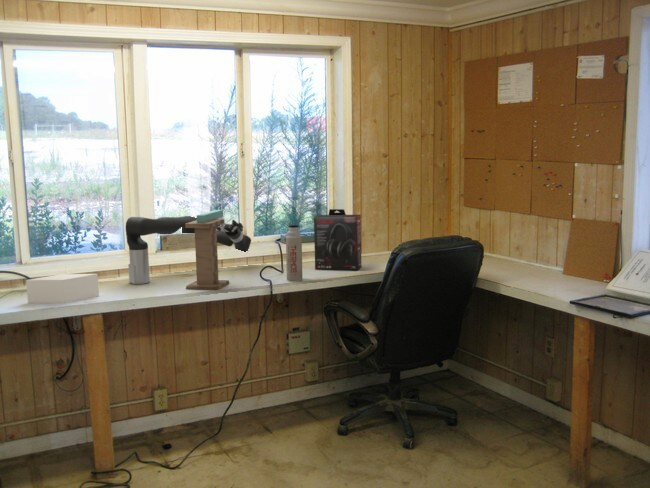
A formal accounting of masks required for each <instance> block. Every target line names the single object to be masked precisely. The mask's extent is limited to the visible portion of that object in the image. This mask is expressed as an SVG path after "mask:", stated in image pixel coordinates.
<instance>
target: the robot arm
mask: <svg viewBox="0 0 650 488" xmlns="http://www.w3.org/2000/svg"><path fill="white" fill-rule="evenodd" d="M191 216H192V215H191ZM191 216H190V215H184V216H183V215H182V216H178V217H177V216H176V217H175V216H171V217H170V216H163V217H161V216H160V217H157V218H148V217H144V216H130V217H128V218H127V220H126V222H125V234H126V243H127V246H128V252H129V256H128V257H129V263H128V265H127V266H128V280H129V283H130V284H133V285H143V284H149V283H150V282H151V281H150V280H151V278H150V276H151V275H150V263H149V262H150V261H149V259H150V257H149V244H148V242H147V241H145V240H143V239H142V237H141V236H149V235H154V234H156V235H161V236H162V235H165V236H166V235H172V234H175V233H176V232H178V231H180V229H181V227H182V233H195V228H185V223H189V222H192V221H196V220H197V217H196V216H193V217H191ZM195 217H196V218H195ZM216 228H217V244H220V245H223V246H227V247H232V246H233V244H234V248H235V249H234V250H236V249H238V250H241V251H244V252H246V251H248V252H249V250H250V246H251V242H252V238H251V237H250V236H249V235H245V234H244V233H243V231H244V225H243V224H242V223H241V222H239V223H238V222H237V221H236V220H235V219H232V221H231V223H230V224H229V223H226V222H225V223H223V224H220V225H217V226H216ZM248 249H249V250H248Z"/></svg>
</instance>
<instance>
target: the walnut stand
mask: <svg viewBox="0 0 650 488" xmlns="http://www.w3.org/2000/svg"><path fill="white" fill-rule="evenodd" d="M223 223H225V224H226V221H225V218H218V219H214V220H211V221H208V222H205V223H197V220H196V221H192V222H189V223H185V228H195V238H194V242H195V243H194V244H195V268H196V269H195V271H196V280H195V281H194V282H191V283H188V284H187V285H186V286H185V289H186V290H200V291H201V290H205V291H219V290H220V289H222V288H224V287H225V286H227V285H228V284H230V280H229V279H228V280H227V279H226V280H225V279H219V263H218V262H219V261H218V260H219V257H218V243H217V231H218V230H217V228H216V226H217V225H220V226H221V224H223Z"/></svg>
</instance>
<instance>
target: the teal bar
mask: <svg viewBox="0 0 650 488" xmlns="http://www.w3.org/2000/svg"><path fill="white" fill-rule="evenodd" d="M196 218H197V223H205V222H208V221H211V220H214V219H222V218H224V210H223V209H215V210H212V211H208V212H204V213H200V214H197V215H196Z"/></svg>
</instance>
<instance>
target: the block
mask: <svg viewBox="0 0 650 488" xmlns="http://www.w3.org/2000/svg"><path fill="white" fill-rule="evenodd" d="M98 275H99V274H98V273H64V274H63V273H60V274H55V275H49V276H42V277H36V278H31V279H25V283H26V295H27V304H68V303H70V302H71V303H72V302H76V301H77V302H78V301H82V300H87V299H92V298H97V297H99V296H100V291H99V288H100V287H99V276H98Z"/></svg>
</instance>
